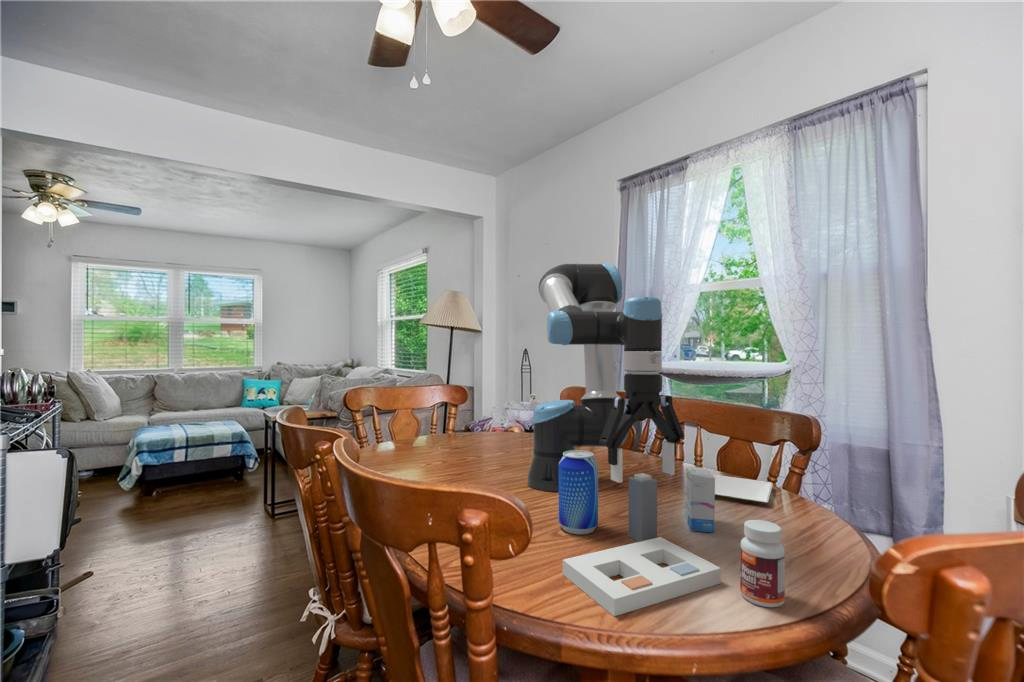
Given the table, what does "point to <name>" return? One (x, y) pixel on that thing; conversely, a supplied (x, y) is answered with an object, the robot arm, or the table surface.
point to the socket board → (640, 574)
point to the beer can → (578, 492)
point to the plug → (642, 507)
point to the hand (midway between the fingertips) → (643, 477)
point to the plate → (742, 489)
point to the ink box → (699, 499)
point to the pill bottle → (762, 564)
